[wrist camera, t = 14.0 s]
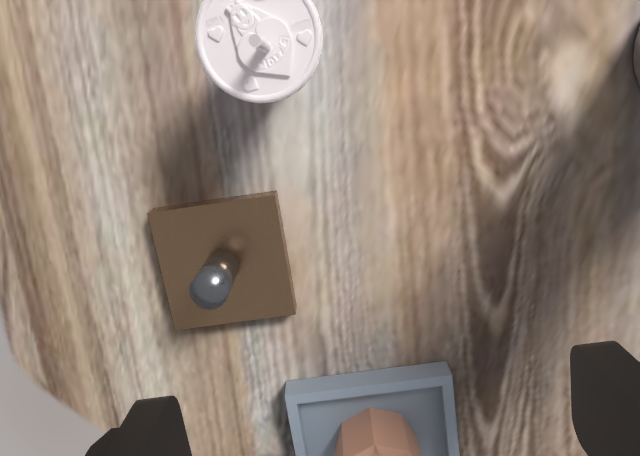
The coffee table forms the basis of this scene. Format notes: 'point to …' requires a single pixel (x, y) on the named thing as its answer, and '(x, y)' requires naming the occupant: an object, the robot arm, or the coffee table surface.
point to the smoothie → (259, 46)
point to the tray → (374, 406)
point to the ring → (376, 435)
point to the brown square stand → (224, 260)
